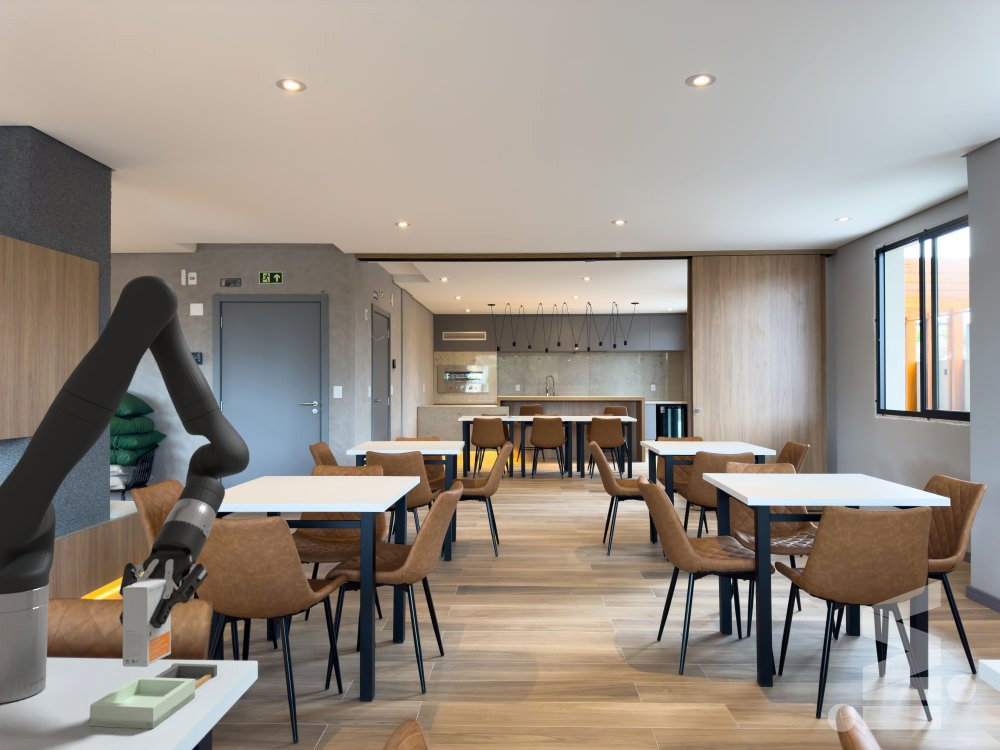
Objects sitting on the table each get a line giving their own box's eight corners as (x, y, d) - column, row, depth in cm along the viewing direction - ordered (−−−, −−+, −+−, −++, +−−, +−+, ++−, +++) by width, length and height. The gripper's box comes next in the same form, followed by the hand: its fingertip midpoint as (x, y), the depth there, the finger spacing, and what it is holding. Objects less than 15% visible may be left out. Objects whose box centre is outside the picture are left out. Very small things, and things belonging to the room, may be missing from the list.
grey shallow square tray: (141, 694, 112) (141, 683, 112) (174, 673, 121) (174, 663, 121) (187, 696, 111) (187, 685, 111) (216, 675, 120) (217, 664, 120)
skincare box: (147, 667, 103) (146, 587, 104) (122, 667, 104) (121, 587, 104) (172, 653, 109) (171, 577, 110) (148, 653, 110) (147, 577, 110)
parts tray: (89, 725, 101) (90, 705, 101) (137, 695, 112) (137, 676, 112) (153, 728, 100) (153, 707, 100) (194, 697, 111) (195, 678, 111)
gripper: (136, 518, 116) (84, 612, 103) (216, 518, 114) (173, 613, 101) (155, 544, 121) (108, 636, 108) (232, 544, 119) (193, 638, 106)
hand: (140, 624), depth 105 cm, fingers closed on skincare box, 4 cm apart
